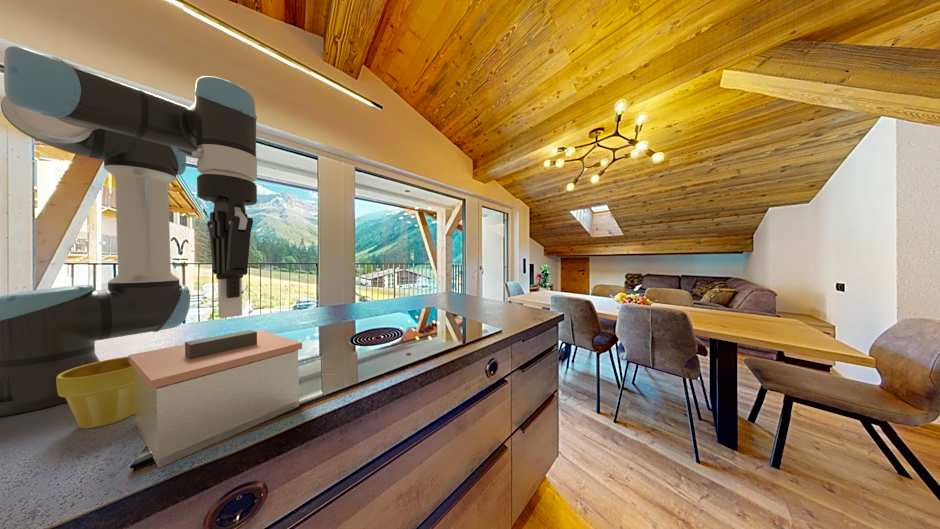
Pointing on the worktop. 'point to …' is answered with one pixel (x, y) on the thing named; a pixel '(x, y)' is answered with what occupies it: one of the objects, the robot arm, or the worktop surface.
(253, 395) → the box body
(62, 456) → the worktop surface
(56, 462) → the worktop surface
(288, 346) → the lid
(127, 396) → the plant pot
